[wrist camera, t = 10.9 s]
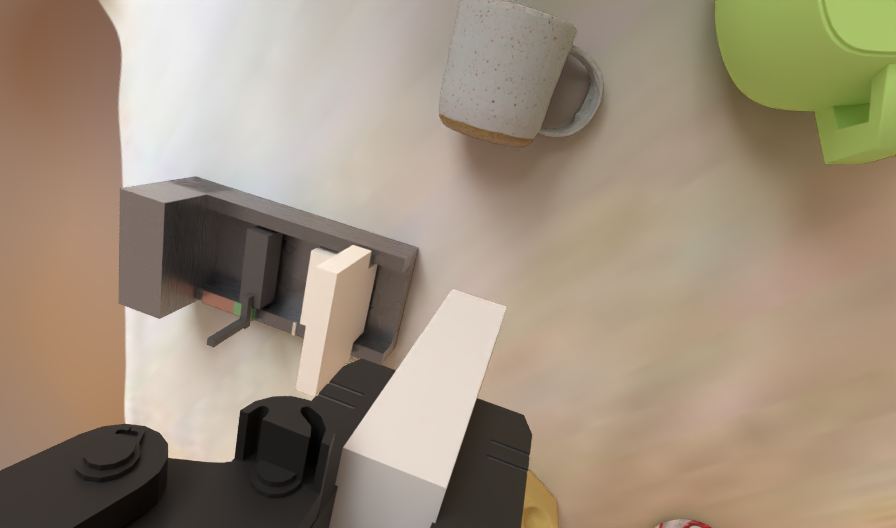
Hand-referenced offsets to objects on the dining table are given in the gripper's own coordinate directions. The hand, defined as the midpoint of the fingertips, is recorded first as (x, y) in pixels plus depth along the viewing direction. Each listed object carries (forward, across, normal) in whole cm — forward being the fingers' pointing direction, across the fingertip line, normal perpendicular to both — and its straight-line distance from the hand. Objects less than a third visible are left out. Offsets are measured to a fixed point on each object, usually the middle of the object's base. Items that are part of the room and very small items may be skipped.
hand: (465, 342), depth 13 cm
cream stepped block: (+24, -13, -12) cm, 30 cm away
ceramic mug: (+27, -3, +8) cm, 28 cm away
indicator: (+25, -21, -13) cm, 34 cm away
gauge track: (+26, -19, -12) cm, 35 cm away
